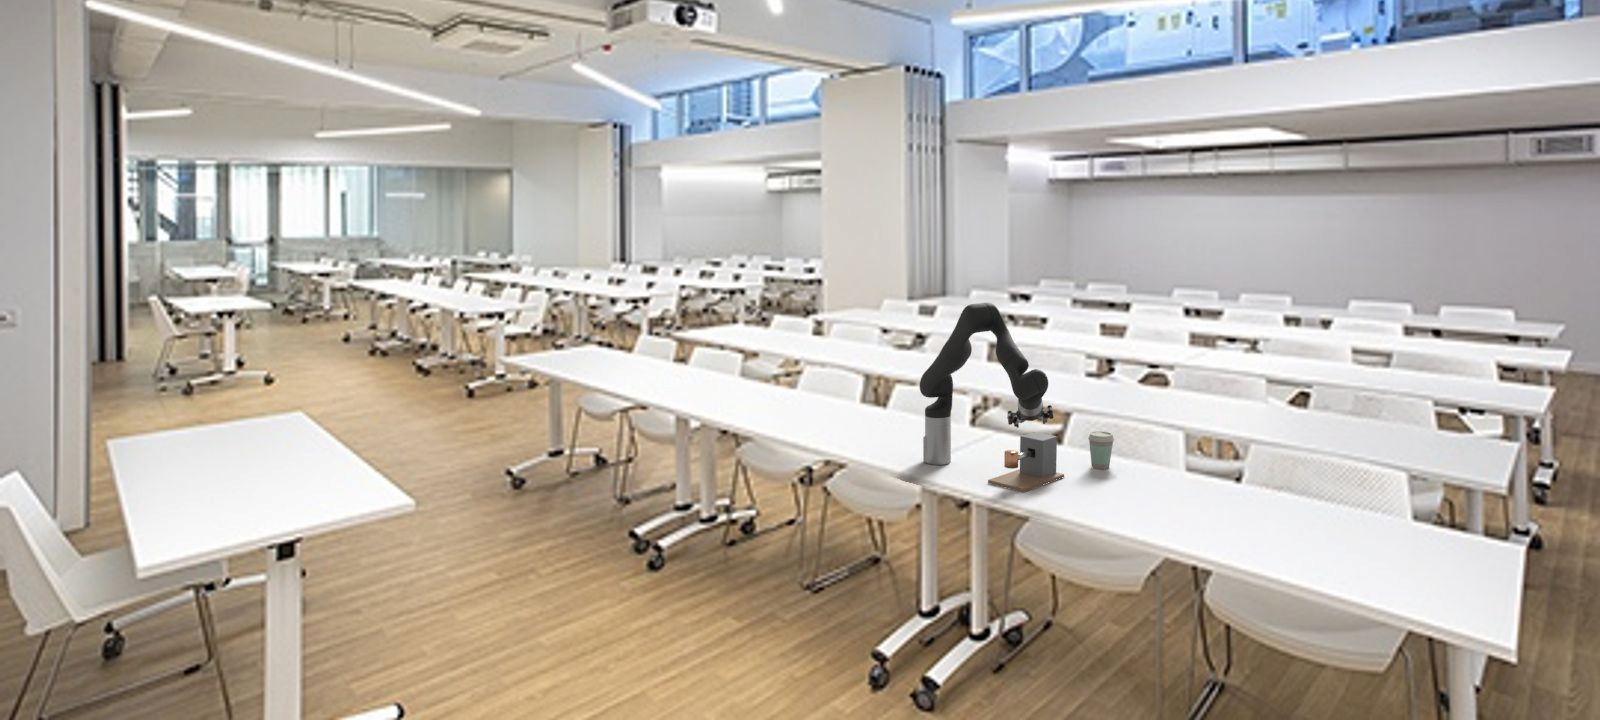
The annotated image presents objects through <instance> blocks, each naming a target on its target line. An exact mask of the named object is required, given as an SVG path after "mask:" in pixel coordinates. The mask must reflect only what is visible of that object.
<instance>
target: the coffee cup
mask: <svg viewBox="0 0 1600 720" xmlns="http://www.w3.org/2000/svg"><path fill="white" fill-rule="evenodd" d="M1088 441H1089V452H1090V463H1091V465H1090V466H1091V468H1092V467H1093V469H1095V468H1097V469H1096V470H1108V469H1110V464H1111V457H1112V450H1113V443H1114V441H1115V437H1114V435H1113V433H1111V432H1110V431H1109V432H1108V431H1102V430H1101V431H1091V432H1090V433H1089V436H1088Z"/></svg>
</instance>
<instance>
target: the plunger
mask: <svg viewBox="0 0 1600 720" xmlns="http://www.w3.org/2000/svg"><path fill="white" fill-rule="evenodd" d="M1033 455H1035V452H1034V450H1029V451H1026V452H1023V453H1020V452H1019V451H1018V450H1012V449H1008V450H1005V451H1004V458H1003V459H1004V462H1003V463H1004V468H1006V469H1018V468H1019V461H1020V460H1021V459H1024V458H1027V457H1030V456H1033Z"/></svg>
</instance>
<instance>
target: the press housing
mask: <svg viewBox="0 0 1600 720" xmlns="http://www.w3.org/2000/svg"><path fill="white" fill-rule="evenodd" d="M1019 437H1020V438H1019V454H1020V453H1023V452H1026V451H1029V450H1034V452H1035V455H1033V456H1030V457H1027V458H1024V459H1021V460H1019V469H1016V470H1014V471H1011V472H1008V473H1004V474H1000V475H999V476H995V477H992V478H990V479H988V480H987V484H988V485H993V484H994V486H997V485H998V486H997V487H1001V486H1002V487H1001V488H1004V487H1006V488H1005V489H1008V488H1010V489H1009V490H1012V489H1013V491H1016V490H1017V491H1016V492H1020V491H1021V493H1026V492H1028V490H1029V491H1031V490H1033V488H1034V489H1037V488H1039V486H1040V487H1042V486H1044V485H1043V484H1045V485H1047V484H1046V483H1048V482H1051V481H1053V482H1055V481H1054V480H1056V479H1059V478H1062V477H1064V478H1065V473H1061V472H1057V455H1058V454H1057V453H1058V451H1057V450H1058V449H1057V447H1058V436H1056V435H1051V434H1046V433H1041V432H1036V431H1034V432H1030V433H1026V434H1023V435H1020V436H1019ZM1062 479H1063V478H1062ZM1059 480H1060V479H1059ZM1056 481H1057V480H1056ZM1051 483H1052V482H1051ZM1048 484H1049V483H1048ZM1041 485H1042V486H1041ZM1036 487H1037V488H1036ZM1025 491H1026V492H1025Z"/></svg>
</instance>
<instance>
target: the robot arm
mask: <svg viewBox="0 0 1600 720" xmlns="http://www.w3.org/2000/svg"><path fill="white" fill-rule="evenodd" d="M984 332H991V333H992V334H993V335H994V336H995V338H996V344H995V355H996V358H997V360H998V362H999V364H1000V365H1001V366H1002V368H1003V369H1004V370H1005V373H1006V374H1007V375H1008V378H1009V382H1010V384H1011V389H1012V392H1013V394H1014V396H1015V397H1016V398H1017V411H1016V412H1013V411H1012V410H1008V411H1007V417H1006V418H1007V422H1008V423H1007V424H1008V425H1009V426H1010V425H1013V426H1014V427H1016V428H1017V429H1018V428H1020V426H1019V424H1023V423H1024V422H1026V421H1027V422H1032V421H1037V420H1039V421H1042V425H1046V423H1047V422H1048V419H1050V420H1051V419H1052V420H1053V419H1054V412H1053V408H1052V405H1047V407H1045V408H1043V405H1044V403H1043V397H1044V395H1046V392H1048V388H1049V379H1048V377H1047V374H1046V373H1045V372H1044V371H1043V370H1042V369H1039V368H1035V369H1031V370H1030V371H1028V369H1029V366H1030V365H1029V362H1028V359H1027V358H1026V357H1025V356H1024V354H1023V353H1022V351H1021V350H1020V348H1019V346H1018V345H1017V344H1016V343H1015V341H1014V339H1013V337H1012V335H1011V332H1010V331H1009V329H1008V327H1007V325H1006V321H1005V320H1004V318H1003V316H1002V314H1001V312H1000V310H999V309H998V307H997V306H996V305H995V304H994V303H993V302H980V303H973V304H968V305H967V306H965V307H964V308H963V310H962V311H961V313H960V316H959V318H958V320H957V322H956V325H955V327H954V329H953V330H952V333H950V336H949V337H948V339H947V341H946V342H945V343H944V345H942V348H941V350H940V352H939V353H938V355H937V356H936V358H935V359H934V360H933V363H931V365H930V366H929V367H927V369H926V370H925V371H924V373H923V374H922V376H921V377H920V380H919V391H920V393H921V395H923V397H925V398H928V399H930V398H931V399H933V398H937V399H936V400H935V401H934V402H932V403H931V404H930V405H927V406H926V407H925V409H924V436H923V439H922V444H923V449H922V450H923V455H922V456H923V458H922V459H923V463H925V464H928V465H933V466H934V465H935V466H936V465H937V466H942V465H949V464H950V463H951V460H952V459H951V458H952V456H951V454H952V453H951V450H952V448H951V447H952V442H951V441H952V425H951V423H952V422H951V421H952V419H951V417H952V410H953V393H954V381H953V377H952V374H953V373H955V372H957V371H959V370H960V369H961V368H963V367H964V365H965V364H966V362H967V361H968V360H969V358H970V357H971V355H972V344H971V341H970V339H971V337H972V335H974V334H976V333H977V334H978V333H984Z"/></svg>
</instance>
